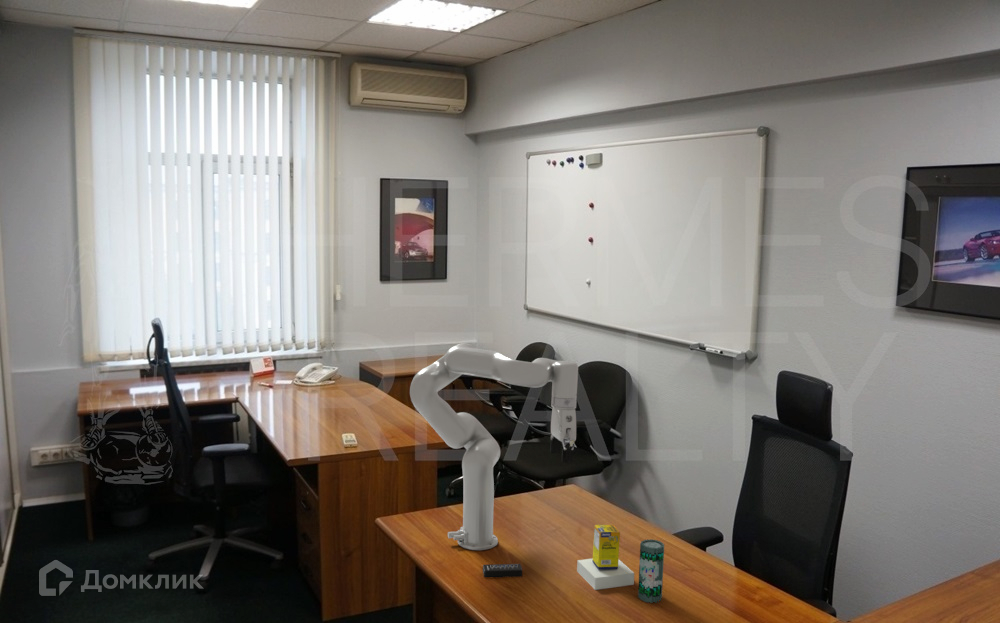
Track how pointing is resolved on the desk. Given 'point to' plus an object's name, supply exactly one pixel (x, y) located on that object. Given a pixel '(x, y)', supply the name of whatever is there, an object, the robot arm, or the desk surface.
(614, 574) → the white block
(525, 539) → the desk surface
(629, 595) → the desk surface
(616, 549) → the supplement box
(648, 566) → the can
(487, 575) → the multiport hub
